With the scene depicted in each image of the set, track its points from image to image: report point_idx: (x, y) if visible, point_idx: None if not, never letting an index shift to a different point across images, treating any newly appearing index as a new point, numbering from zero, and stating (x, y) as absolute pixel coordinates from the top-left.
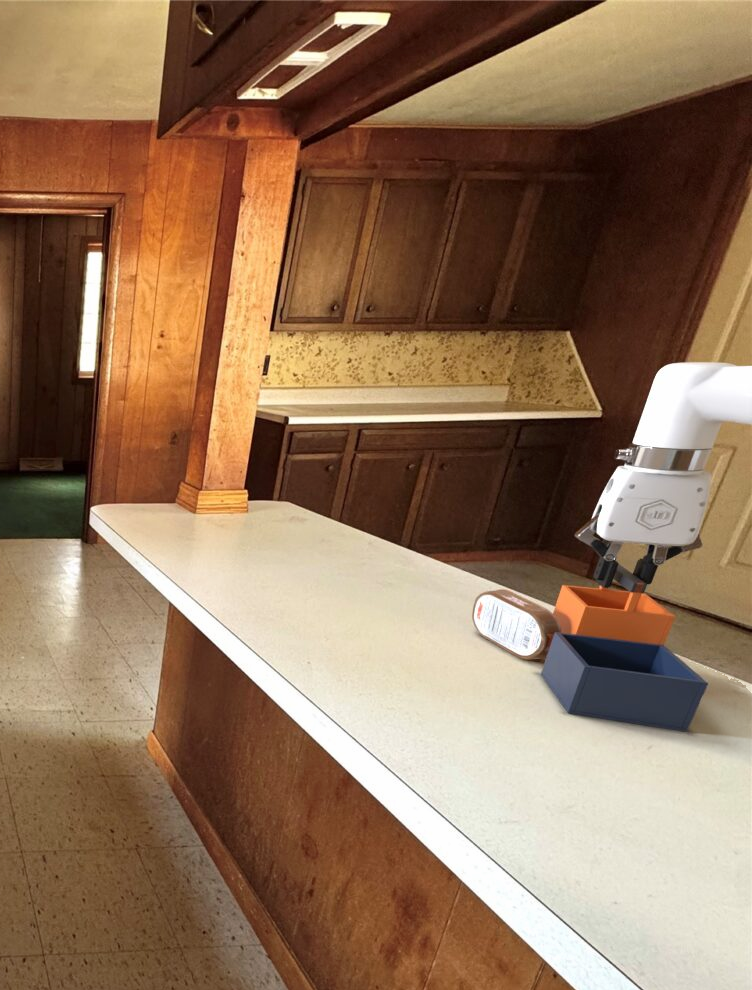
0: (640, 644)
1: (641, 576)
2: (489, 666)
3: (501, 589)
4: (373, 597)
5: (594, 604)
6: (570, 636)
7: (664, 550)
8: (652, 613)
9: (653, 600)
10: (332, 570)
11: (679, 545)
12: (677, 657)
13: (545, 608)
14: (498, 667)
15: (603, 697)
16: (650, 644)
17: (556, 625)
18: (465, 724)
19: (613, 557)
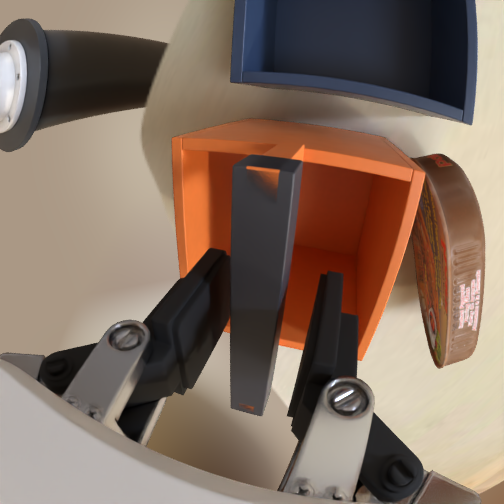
0: (284, 73)
1: (207, 297)
2: (498, 146)
3: (443, 365)
4: (484, 387)
5: (290, 307)
6: (443, 103)
7: (85, 379)
8: (225, 144)
9: (182, 270)
10: (462, 439)
11: (9, 365)
12: (236, 4)
13: (449, 252)
14: (486, 143)
15: None
16: (261, 73)
17: (436, 188)
18: None
19: (326, 397)
